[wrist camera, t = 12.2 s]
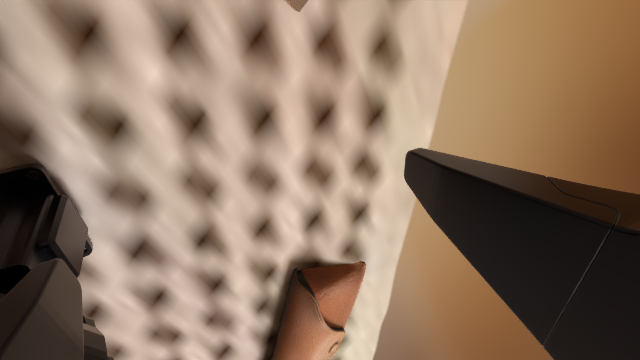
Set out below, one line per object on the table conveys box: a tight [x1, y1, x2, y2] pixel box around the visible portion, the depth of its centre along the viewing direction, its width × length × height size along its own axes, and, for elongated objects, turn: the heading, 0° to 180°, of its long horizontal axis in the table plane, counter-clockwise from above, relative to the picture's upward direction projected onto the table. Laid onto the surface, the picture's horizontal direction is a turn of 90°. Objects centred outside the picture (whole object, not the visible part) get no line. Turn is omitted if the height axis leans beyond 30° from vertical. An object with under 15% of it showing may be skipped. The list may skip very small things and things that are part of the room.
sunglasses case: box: [271, 261, 366, 360], centre depth 35 cm, size 18×7×7 cm
